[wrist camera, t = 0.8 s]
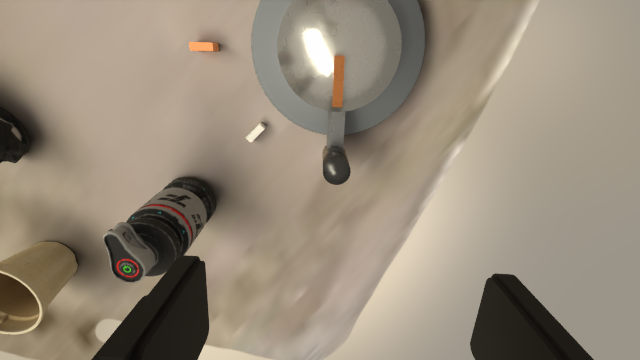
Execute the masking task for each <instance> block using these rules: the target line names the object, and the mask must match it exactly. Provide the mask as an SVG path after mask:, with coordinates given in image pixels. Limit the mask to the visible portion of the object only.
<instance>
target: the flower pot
mask: <svg viewBox="0 0 640 360" xmlns="http://www.w3.org/2000/svg"><path fill="white" fill-rule="evenodd" d="M77 268H78V264H77V263H76V259H75V255H74V253H73V252H72V251H71V250H70V249H69V248H67V247H66V246H64V245H62V244H60V243H58V242H40V243H38V244H36V245H34V246H32V247H30V248H28V249H26V250H24V251H21V252H19V253H17V254H15V255H13V256H11V257H9V258H7V259H5V260H3V261H1V262H0V333H4V334H22V333H26V332H29V331H31V330H33V329H34V328H35V327H36V326H37V325H38V324H39V323H40V322H41V320H42V318H43V315H44V313H45V311H46V310H47V307H48V305H49V304H50V302H51V301H52V300H53V299H54V298H55V296H56V295H57V294H58V293H59V291H60V290H61V289H62V288H63V287H64V285H65V284H66V283H67V282H68V281H69V279H70V278H71V277H72V276H73V275H74V274H75V272H76V271H77Z"/></svg>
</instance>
